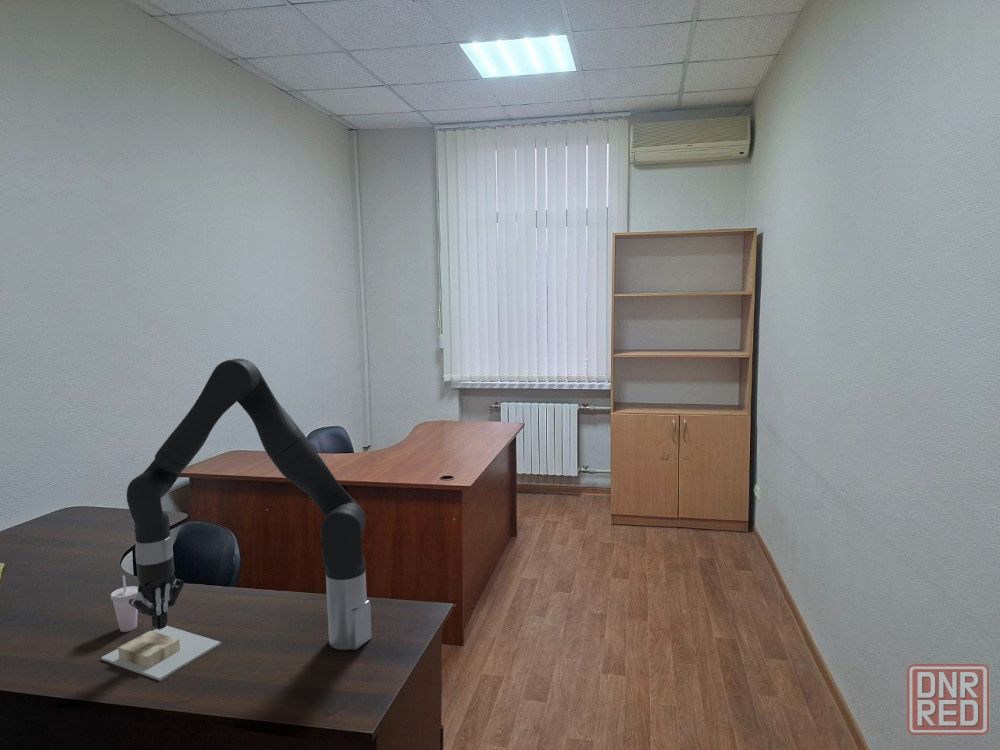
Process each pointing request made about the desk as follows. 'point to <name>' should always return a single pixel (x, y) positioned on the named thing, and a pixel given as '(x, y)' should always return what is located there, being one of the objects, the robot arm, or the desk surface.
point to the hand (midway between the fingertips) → (160, 627)
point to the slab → (149, 649)
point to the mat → (188, 652)
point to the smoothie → (125, 607)
